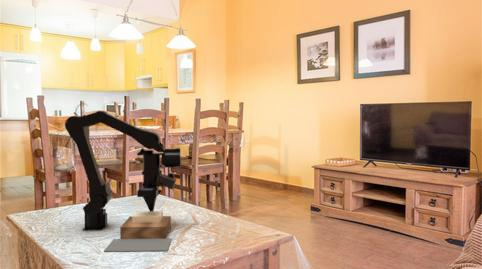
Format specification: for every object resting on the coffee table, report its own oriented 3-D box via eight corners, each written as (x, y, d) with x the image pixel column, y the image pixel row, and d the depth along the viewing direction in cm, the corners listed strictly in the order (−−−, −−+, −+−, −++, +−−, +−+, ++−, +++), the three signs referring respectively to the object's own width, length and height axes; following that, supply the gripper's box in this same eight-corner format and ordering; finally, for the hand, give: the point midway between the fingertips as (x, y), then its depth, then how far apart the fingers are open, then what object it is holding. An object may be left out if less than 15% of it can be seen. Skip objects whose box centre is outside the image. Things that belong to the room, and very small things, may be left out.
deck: (120, 239, 113) (120, 227, 113) (129, 227, 125) (129, 216, 125) (165, 239, 114) (165, 226, 114) (170, 227, 126) (170, 216, 126)
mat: (103, 252, 103) (103, 250, 103) (113, 239, 113) (113, 238, 113) (167, 251, 104) (167, 250, 104) (172, 239, 114) (171, 238, 114)
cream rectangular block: (132, 222, 118) (132, 216, 118) (136, 217, 124) (136, 211, 124) (160, 222, 118) (160, 216, 118) (163, 217, 124) (163, 211, 124)
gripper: (171, 171, 118) (171, 218, 119) (177, 164, 137) (177, 204, 137) (136, 171, 117) (137, 219, 118) (147, 164, 136) (147, 205, 137)
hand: (151, 211), depth 128 cm, fingers closed
